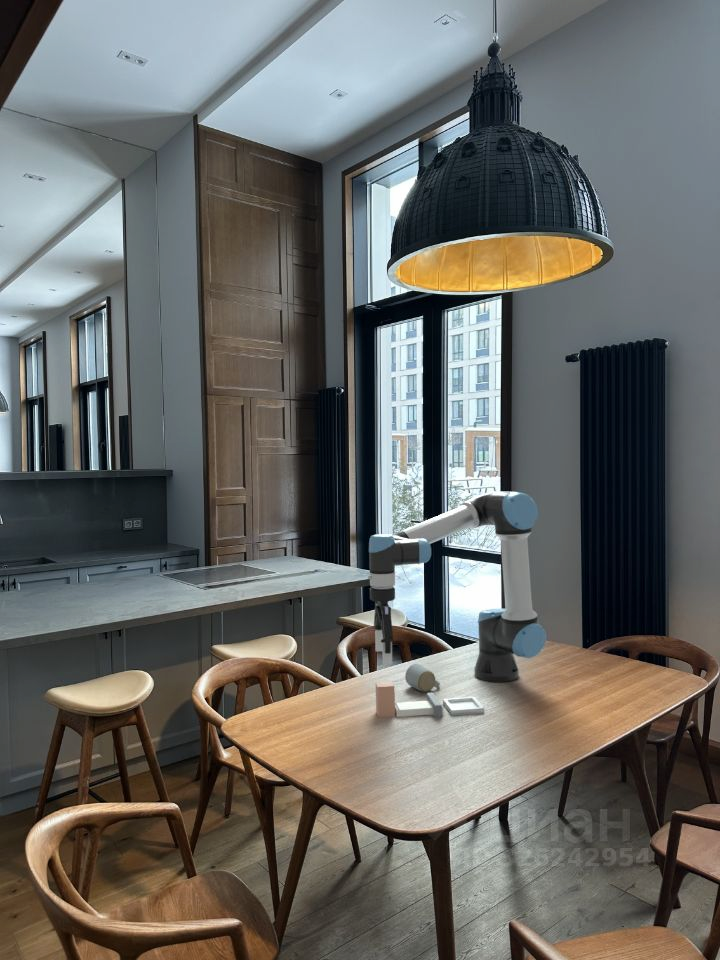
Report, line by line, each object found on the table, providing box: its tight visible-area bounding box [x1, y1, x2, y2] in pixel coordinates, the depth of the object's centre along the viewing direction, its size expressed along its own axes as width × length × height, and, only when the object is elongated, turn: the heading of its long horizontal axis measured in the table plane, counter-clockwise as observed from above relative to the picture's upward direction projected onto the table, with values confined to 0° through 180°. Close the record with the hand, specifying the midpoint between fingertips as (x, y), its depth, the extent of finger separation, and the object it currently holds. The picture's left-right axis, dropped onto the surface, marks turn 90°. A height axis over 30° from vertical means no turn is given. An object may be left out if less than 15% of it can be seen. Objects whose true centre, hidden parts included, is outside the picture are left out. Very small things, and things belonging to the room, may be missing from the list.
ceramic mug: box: [404, 663, 441, 693], centre depth 227 cm, size 11×8×8 cm
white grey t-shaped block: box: [395, 692, 444, 718], centre depth 206 cm, size 14×11×4 cm
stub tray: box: [442, 696, 485, 716], centre depth 208 cm, size 10×10×2 cm
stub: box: [375, 681, 396, 718], centre depth 205 cm, size 5×4×9 cm
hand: (383, 657), depth 205 cm, fingers open, 13 cm apart
